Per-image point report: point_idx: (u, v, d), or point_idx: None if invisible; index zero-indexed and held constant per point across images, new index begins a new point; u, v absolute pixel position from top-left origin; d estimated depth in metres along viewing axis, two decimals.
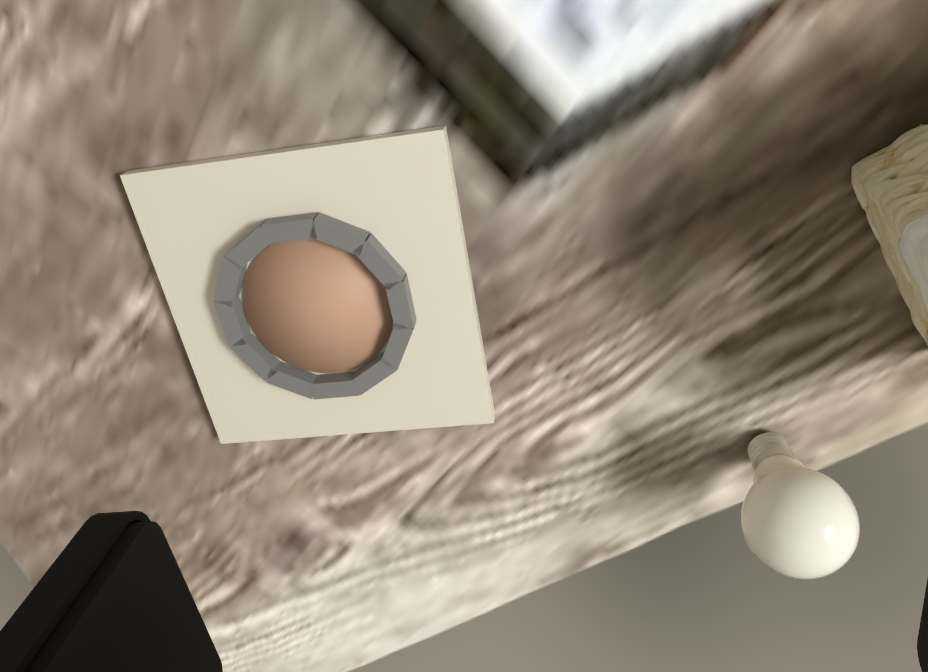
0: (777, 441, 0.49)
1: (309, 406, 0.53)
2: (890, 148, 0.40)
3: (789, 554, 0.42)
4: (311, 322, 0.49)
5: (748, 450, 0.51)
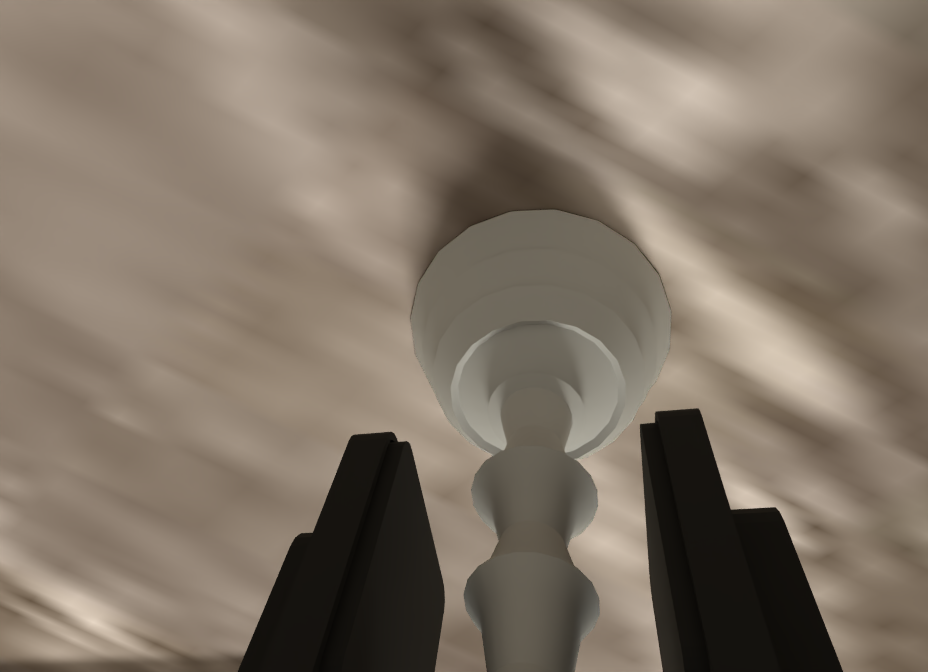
0: None
1: None
2: None
3: None
4: None
5: None
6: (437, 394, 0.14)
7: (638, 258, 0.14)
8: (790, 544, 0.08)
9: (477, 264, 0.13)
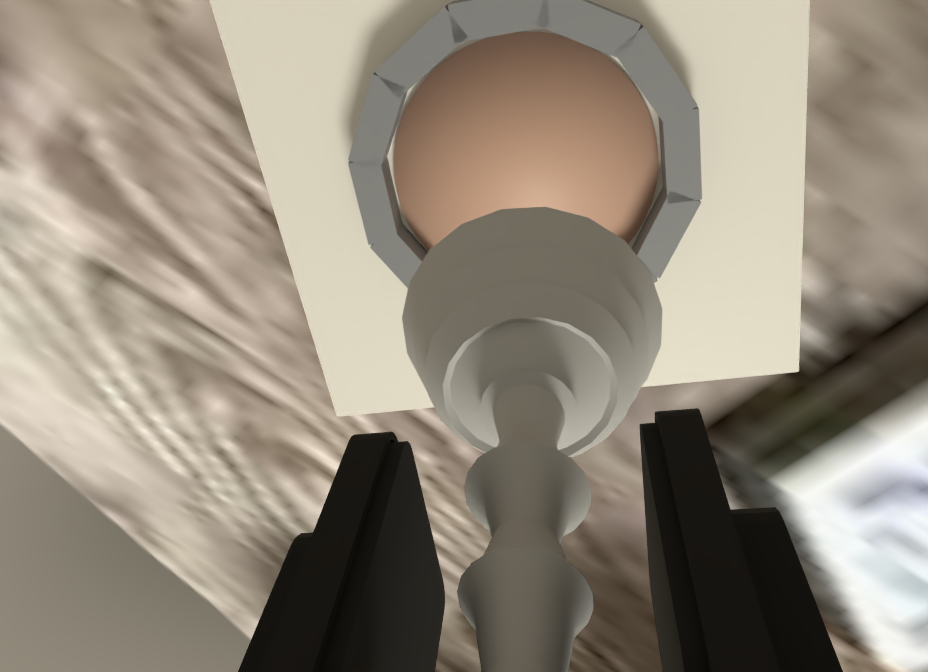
0: None
1: (316, 133, 0.28)
2: None
3: None
4: (495, 159, 0.28)
5: None
6: (429, 392, 0.13)
7: (629, 254, 0.14)
8: (790, 545, 0.08)
9: (468, 262, 0.13)
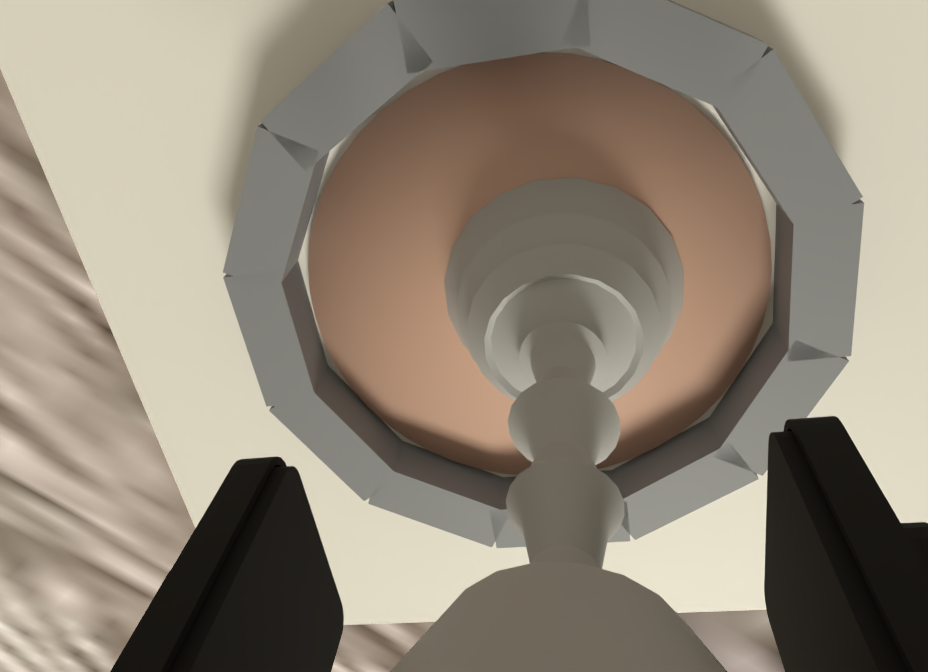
0: None
1: (175, 219, 0.16)
2: None
3: None
4: None
5: None
6: (471, 346, 0.15)
7: (653, 221, 0.15)
8: None
9: (507, 227, 0.15)
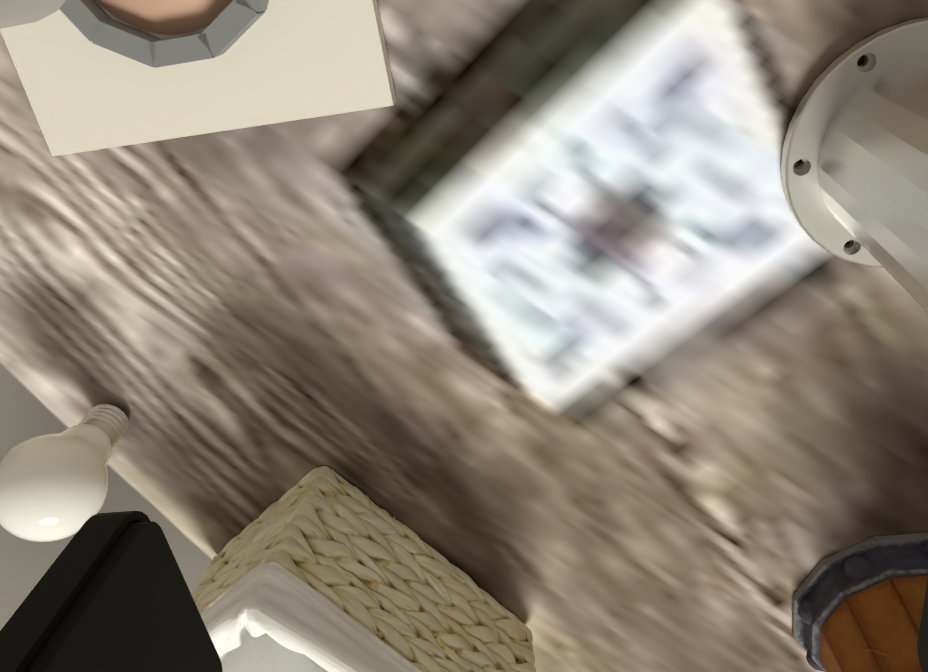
0: (121, 430, 0.51)
1: None
2: (345, 487, 0.52)
3: (16, 502, 0.43)
4: None
5: (102, 405, 0.51)
6: None
7: None
8: None
9: None
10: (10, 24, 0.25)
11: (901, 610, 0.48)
